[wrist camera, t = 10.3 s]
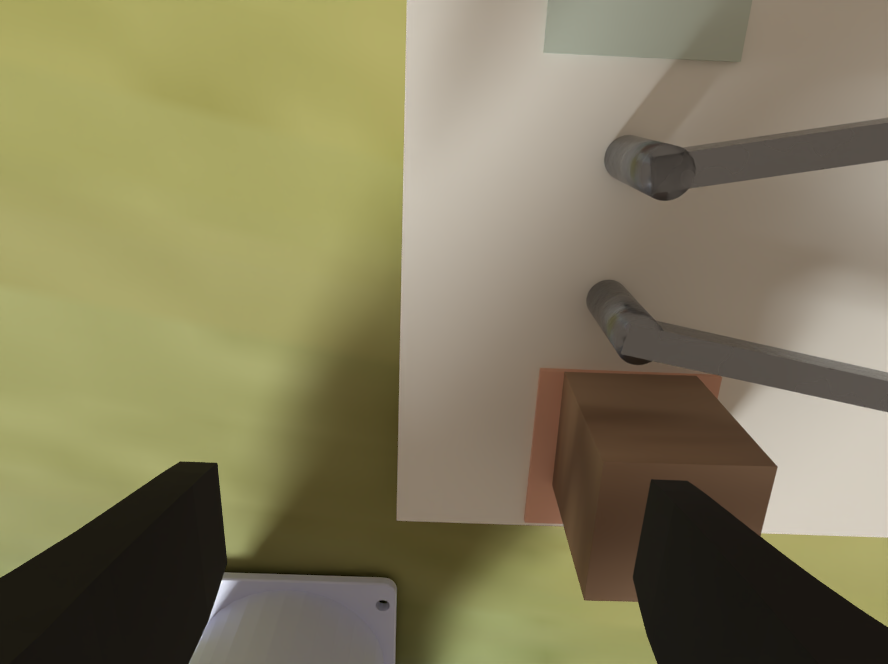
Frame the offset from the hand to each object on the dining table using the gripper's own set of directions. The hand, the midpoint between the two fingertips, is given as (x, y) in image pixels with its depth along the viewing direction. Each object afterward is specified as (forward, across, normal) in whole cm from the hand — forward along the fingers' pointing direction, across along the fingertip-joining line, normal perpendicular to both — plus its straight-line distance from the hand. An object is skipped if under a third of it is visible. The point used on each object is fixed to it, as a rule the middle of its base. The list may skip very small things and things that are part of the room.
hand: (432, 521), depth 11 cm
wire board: (+10, -8, -3) cm, 13 cm away
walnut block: (+9, -6, +3) cm, 11 cm away
